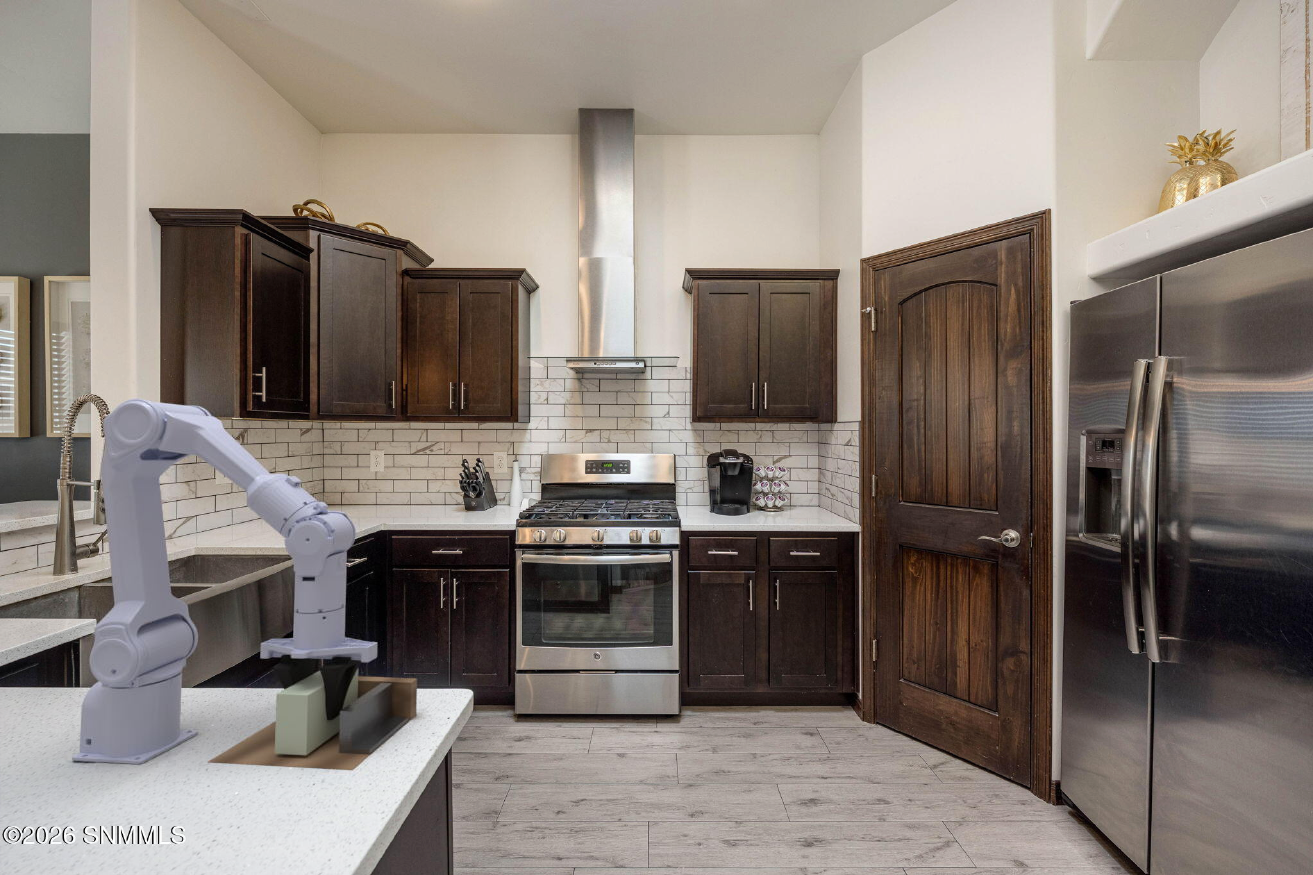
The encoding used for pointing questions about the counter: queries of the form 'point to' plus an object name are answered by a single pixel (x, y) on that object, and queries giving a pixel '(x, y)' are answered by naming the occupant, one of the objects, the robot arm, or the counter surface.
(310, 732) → the pale green rectangular block
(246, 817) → the counter surface
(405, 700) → the wooden display base
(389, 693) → the bookend
